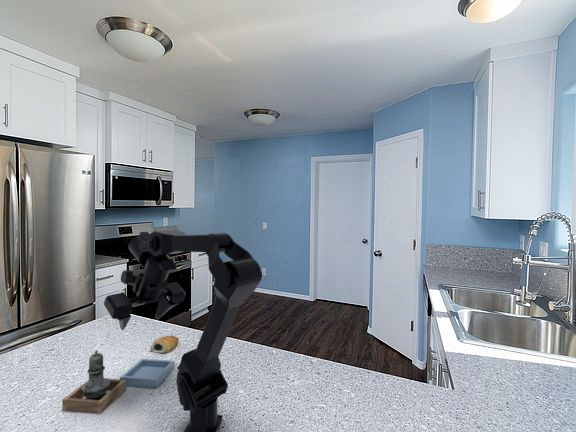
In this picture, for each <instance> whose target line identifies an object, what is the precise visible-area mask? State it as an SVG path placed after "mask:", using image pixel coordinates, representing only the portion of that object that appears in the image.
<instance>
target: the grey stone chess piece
mask: <svg viewBox="0 0 576 432" xmlns="http://www.w3.org/2000/svg"><path fill="white" fill-rule="evenodd" d="M88 360H89V361H88V369H87V371H86V372H87V374H88V380H87V381H88V382H87V381H86V382H87V383H86V384H84V383H83V384H84V385H83V384H82V385H83V386H82V388H81V390H82V391H83V394H84V397H85V399H90V400H101V399H102V398H103V397H104V396H105V395H106V394H107V393H108V392H107V391H108V390H107V389H108V387H109V384H110V380H109V379H110V378H107V379H106V377H105V376H104V370H105V369H106V367H105V366H104V355H103V353H100V352H99V351H98V350H95V351H94V353H93V354H92V355H91V356H90V357H89V359H88Z"/></svg>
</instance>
